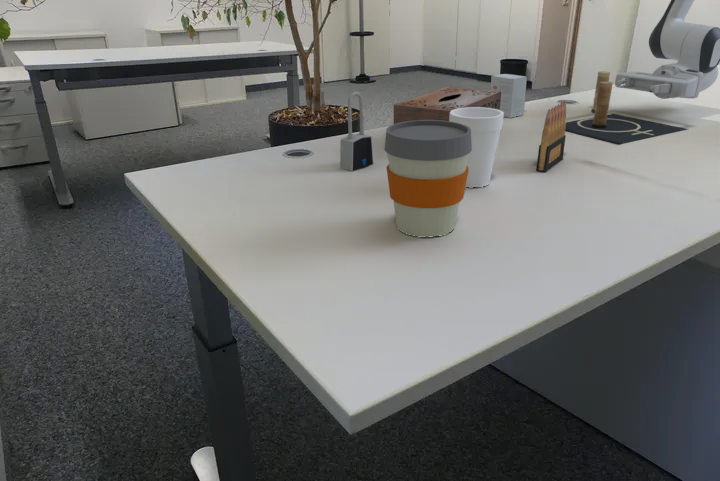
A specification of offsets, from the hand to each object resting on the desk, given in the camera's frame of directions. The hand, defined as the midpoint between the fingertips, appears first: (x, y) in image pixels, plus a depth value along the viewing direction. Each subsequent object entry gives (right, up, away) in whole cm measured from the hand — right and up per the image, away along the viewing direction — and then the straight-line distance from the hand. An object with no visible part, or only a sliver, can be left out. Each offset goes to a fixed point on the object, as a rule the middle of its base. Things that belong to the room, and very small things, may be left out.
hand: (635, 86), depth 140 cm
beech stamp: (-10, -11, -3) cm, 15 cm away
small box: (-29, -4, +14) cm, 33 cm away
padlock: (-71, -24, -26) cm, 79 cm away
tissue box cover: (-49, -16, -10) cm, 53 cm away
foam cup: (-49, -29, -37) cm, 68 cm away
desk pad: (-6, -12, -4) cm, 14 cm away
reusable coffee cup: (-60, -37, -55) cm, 90 cm away
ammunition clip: (-32, -24, -29) cm, 49 cm away
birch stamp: (-3, -3, +14) cm, 15 cm away
